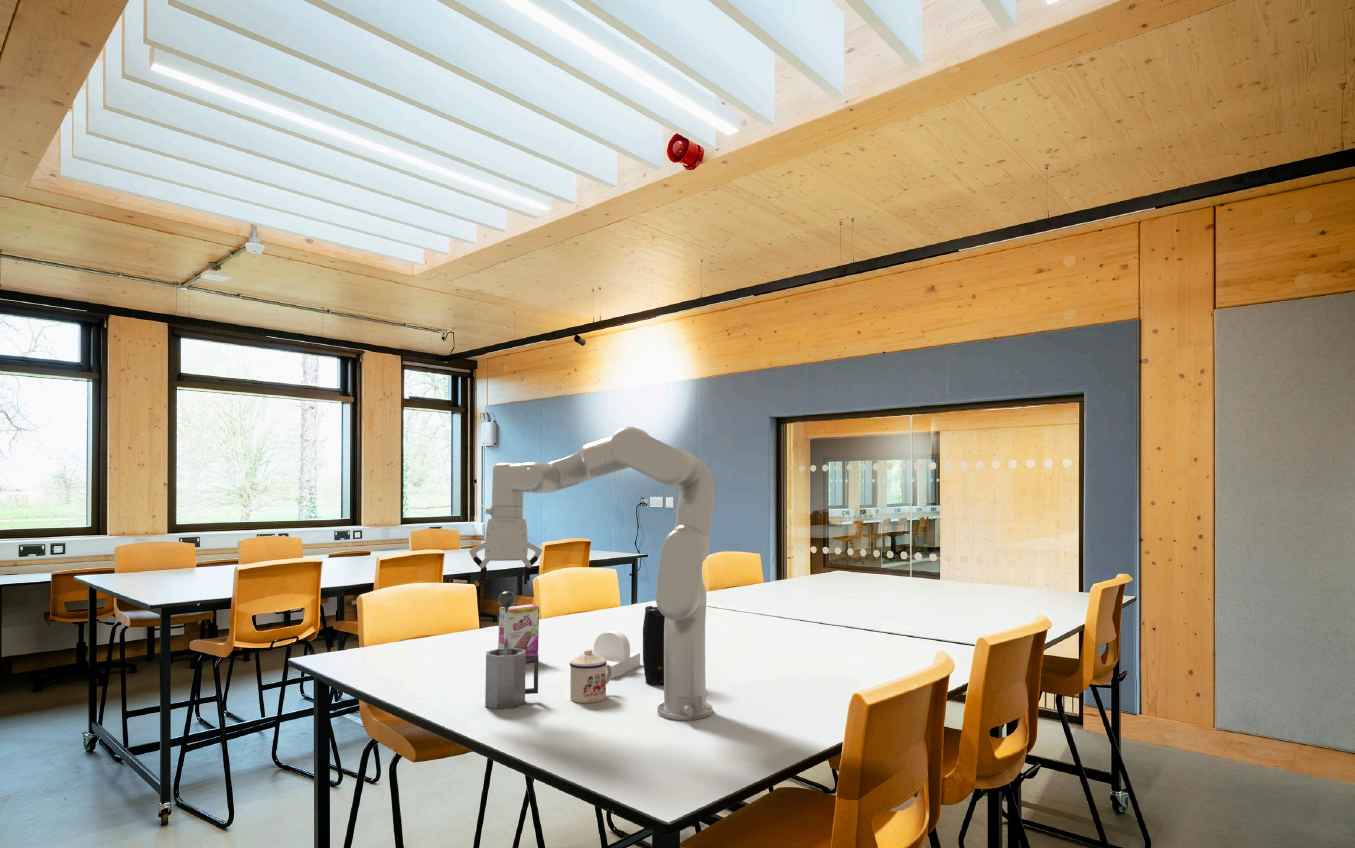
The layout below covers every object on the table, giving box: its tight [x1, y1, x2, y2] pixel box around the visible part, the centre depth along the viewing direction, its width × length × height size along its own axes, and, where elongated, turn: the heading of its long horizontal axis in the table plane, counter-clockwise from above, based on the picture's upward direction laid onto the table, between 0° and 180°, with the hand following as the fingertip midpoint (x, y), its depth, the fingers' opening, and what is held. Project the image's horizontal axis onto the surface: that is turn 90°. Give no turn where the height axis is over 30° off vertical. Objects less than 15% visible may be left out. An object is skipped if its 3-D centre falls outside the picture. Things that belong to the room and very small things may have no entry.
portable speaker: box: [642, 605, 665, 686], centre depth 198 cm, size 9×9×20 cm
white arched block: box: [593, 629, 641, 680], centre depth 212 cm, size 18×10×11 cm, turn 158°
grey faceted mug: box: [484, 648, 539, 710], centre depth 179 cm, size 9×12×12 cm
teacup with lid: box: [569, 648, 612, 704], centre depth 184 cm, size 12×9×12 cm
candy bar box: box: [497, 604, 540, 663], centre depth 222 cm, size 11×5×16 cm, turn 130°
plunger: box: [497, 590, 516, 656], centre depth 180 cm, size 6×6×16 cm
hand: (505, 584), depth 181 cm, fingers open, 9 cm apart
